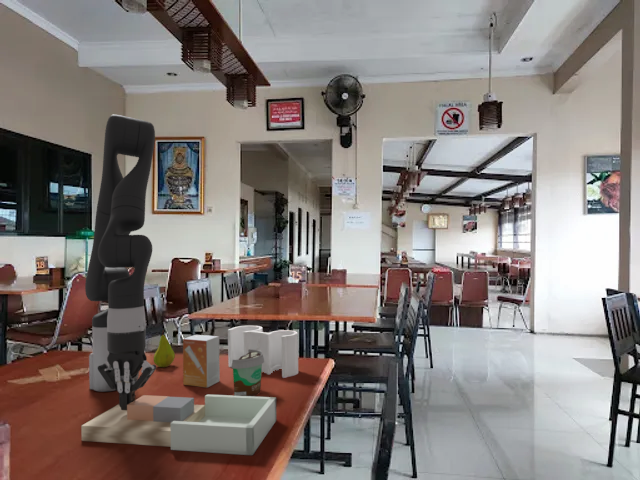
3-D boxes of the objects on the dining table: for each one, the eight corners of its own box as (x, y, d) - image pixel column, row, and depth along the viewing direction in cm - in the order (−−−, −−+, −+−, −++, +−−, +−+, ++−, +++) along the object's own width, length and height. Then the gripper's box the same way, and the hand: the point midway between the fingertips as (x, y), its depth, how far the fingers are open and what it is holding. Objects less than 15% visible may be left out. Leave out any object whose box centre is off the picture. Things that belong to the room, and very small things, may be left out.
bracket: (305, 371, 135) (304, 331, 135) (285, 379, 127) (284, 337, 127) (247, 360, 150) (246, 324, 150) (225, 366, 142) (225, 329, 142)
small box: (182, 385, 123) (182, 338, 123) (196, 378, 129) (196, 334, 129) (207, 388, 120) (206, 340, 120) (220, 381, 126) (219, 335, 126)
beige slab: (81, 440, 88) (81, 425, 88) (124, 414, 102) (124, 401, 102) (174, 446, 85) (173, 431, 85) (205, 418, 99) (204, 405, 99)
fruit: (169, 363, 147) (169, 327, 147) (177, 366, 142) (177, 329, 143) (150, 366, 143) (149, 329, 143) (158, 370, 138) (157, 332, 138)
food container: (255, 401, 109) (254, 361, 109) (232, 400, 110) (231, 360, 110) (270, 386, 121) (270, 349, 121) (249, 385, 122) (249, 348, 122)
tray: (170, 449, 84) (170, 423, 84) (207, 416, 100) (207, 394, 100) (252, 455, 81) (252, 428, 81) (276, 420, 97) (276, 397, 97)
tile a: (127, 419, 91) (127, 404, 91) (143, 408, 97) (143, 395, 97) (153, 420, 90) (153, 406, 90) (168, 410, 96) (168, 396, 96)
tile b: (153, 421, 90) (153, 406, 90) (168, 410, 96) (168, 396, 96) (180, 422, 89) (180, 408, 89) (194, 411, 95) (194, 397, 95)
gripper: (86, 330, 92) (87, 414, 92) (144, 332, 89) (145, 417, 89) (110, 324, 99) (111, 401, 99) (164, 325, 97) (165, 404, 97)
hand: (127, 408), depth 94 cm, fingers closed
